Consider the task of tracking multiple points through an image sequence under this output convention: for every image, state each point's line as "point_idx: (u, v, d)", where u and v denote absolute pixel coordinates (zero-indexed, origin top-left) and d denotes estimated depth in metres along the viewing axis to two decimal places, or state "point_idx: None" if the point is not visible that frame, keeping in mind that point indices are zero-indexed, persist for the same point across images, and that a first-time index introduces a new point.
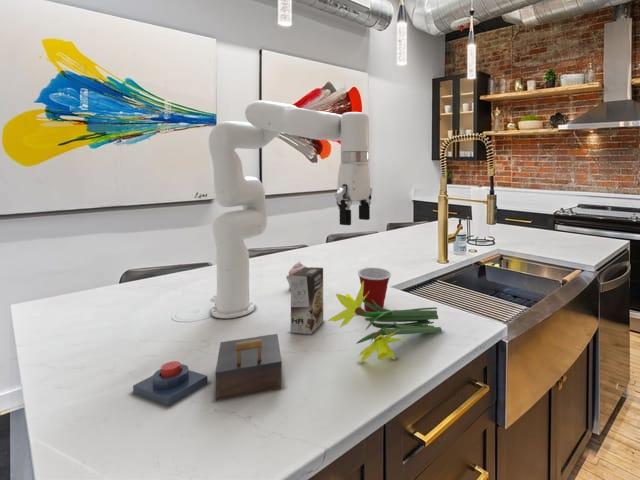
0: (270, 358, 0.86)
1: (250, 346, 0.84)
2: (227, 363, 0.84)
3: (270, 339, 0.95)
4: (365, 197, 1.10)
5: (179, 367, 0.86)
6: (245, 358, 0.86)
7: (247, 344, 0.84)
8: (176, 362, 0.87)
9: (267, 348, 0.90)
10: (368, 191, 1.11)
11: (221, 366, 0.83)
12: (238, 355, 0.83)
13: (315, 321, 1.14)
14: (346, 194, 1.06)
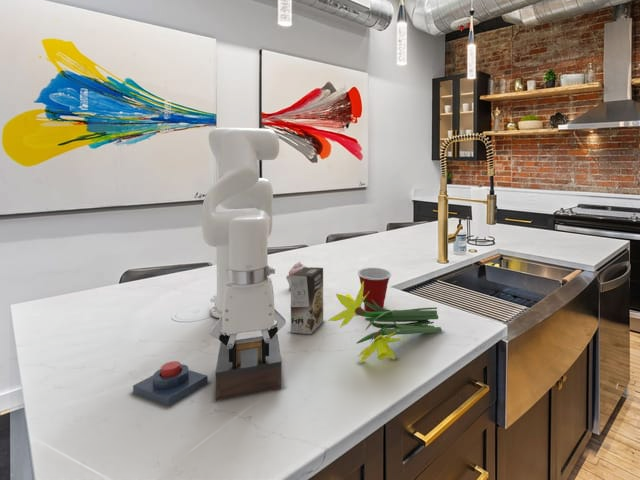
0: (270, 358, 0.86)
1: (250, 346, 0.84)
2: (227, 363, 0.84)
3: None
4: (259, 328, 0.83)
5: (179, 367, 0.86)
6: (245, 358, 0.86)
7: (247, 344, 0.84)
8: (176, 362, 0.87)
9: None
10: (266, 320, 0.83)
11: (221, 366, 0.83)
12: (238, 355, 0.83)
13: (315, 321, 1.14)
14: None
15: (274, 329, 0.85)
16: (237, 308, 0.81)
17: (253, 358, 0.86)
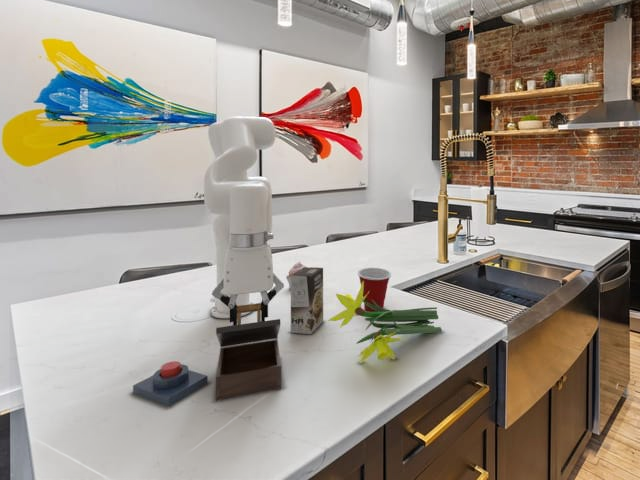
0: None
1: (250, 307, 0.88)
2: None
3: None
4: (259, 289, 0.88)
5: (179, 367, 0.86)
6: None
7: (247, 305, 0.88)
8: (176, 362, 0.87)
9: None
10: (265, 282, 0.88)
11: None
12: (238, 317, 0.87)
13: (315, 321, 1.14)
14: None
15: (273, 292, 0.90)
16: (237, 270, 0.86)
17: None
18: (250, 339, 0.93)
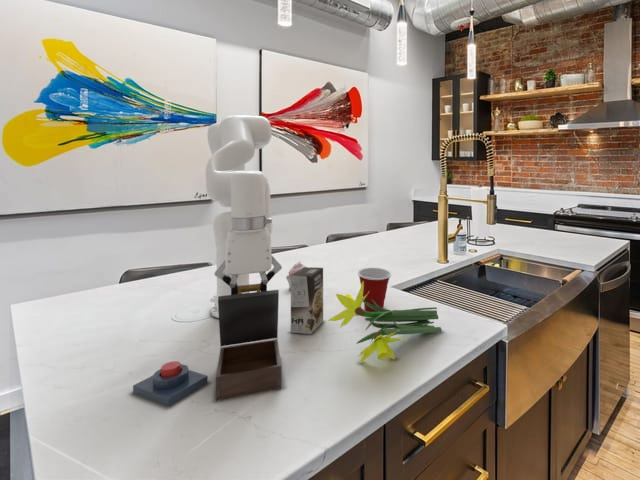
0: None
1: (250, 285, 0.94)
2: None
3: None
4: (258, 270, 0.94)
5: (179, 367, 0.86)
6: None
7: (247, 285, 0.94)
8: (176, 362, 0.87)
9: None
10: (264, 263, 0.94)
11: None
12: (239, 293, 0.92)
13: (315, 321, 1.14)
14: None
15: (271, 272, 0.96)
16: (238, 251, 0.92)
17: None
18: (250, 330, 0.94)
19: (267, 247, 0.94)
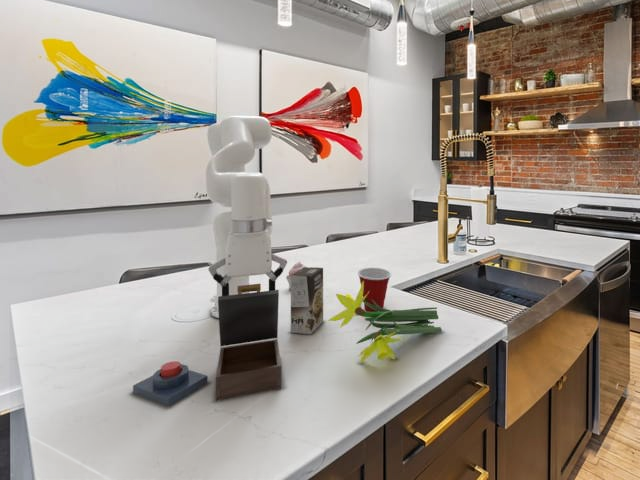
0: None
1: (250, 285, 0.94)
2: None
3: None
4: (258, 272, 0.94)
5: (179, 367, 0.86)
6: None
7: (247, 285, 0.94)
8: (176, 362, 0.87)
9: None
10: (264, 266, 0.95)
11: None
12: (239, 293, 0.92)
13: (315, 321, 1.14)
14: None
15: (280, 269, 0.97)
16: (238, 254, 0.92)
17: None
18: (250, 330, 0.94)
19: (267, 249, 0.95)
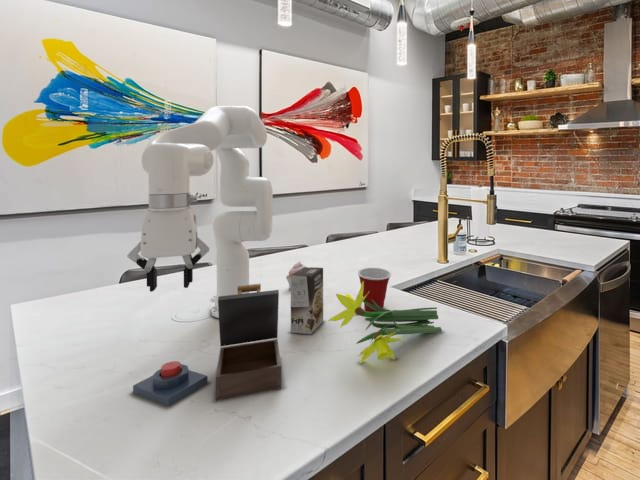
0: None
1: (250, 285, 0.94)
2: None
3: None
4: (179, 253, 0.84)
5: (179, 367, 0.86)
6: None
7: (247, 285, 0.94)
8: (176, 362, 0.87)
9: None
10: (186, 246, 0.84)
11: None
12: (239, 293, 0.92)
13: (315, 321, 1.14)
14: None
15: (197, 256, 0.86)
16: (155, 232, 0.82)
17: None
18: (250, 330, 0.94)
19: (190, 228, 0.85)
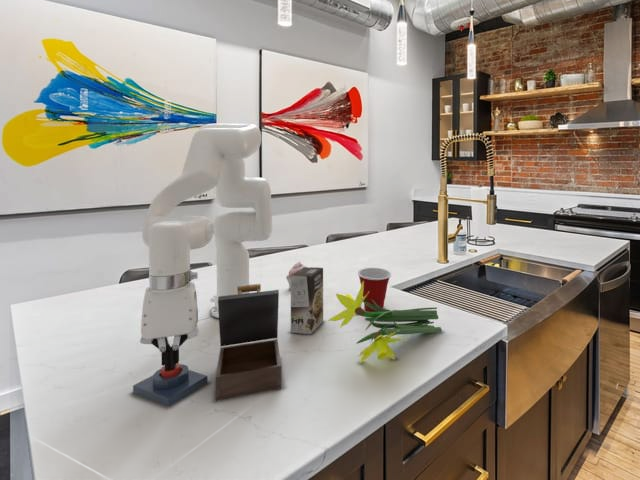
0: None
1: (250, 285, 0.94)
2: None
3: None
4: (179, 332, 0.84)
5: (179, 369, 0.86)
6: None
7: (247, 285, 0.94)
8: (176, 364, 0.87)
9: None
10: (187, 325, 0.84)
11: None
12: (239, 293, 0.92)
13: (315, 321, 1.14)
14: None
15: (183, 336, 0.85)
16: (156, 313, 0.82)
17: None
18: (250, 330, 0.94)
19: (190, 307, 0.85)
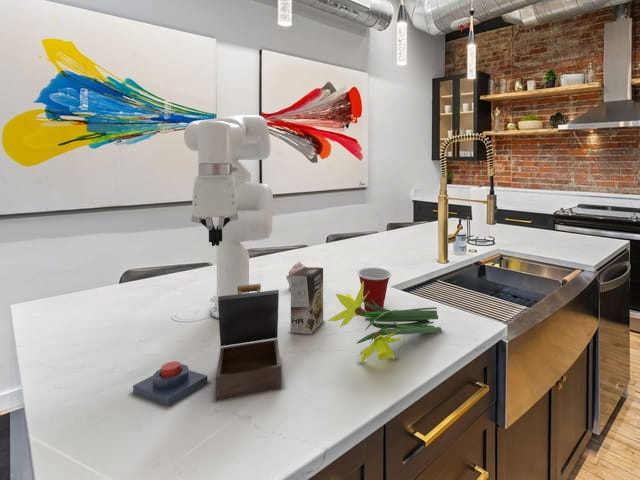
0: None
1: (250, 285, 0.94)
2: None
3: None
4: (224, 214, 0.99)
5: (179, 367, 0.86)
6: None
7: (247, 285, 0.94)
8: (176, 362, 0.87)
9: None
10: (229, 208, 1.00)
11: None
12: (239, 293, 0.92)
13: (315, 321, 1.14)
14: None
15: (226, 218, 1.01)
16: (204, 195, 0.97)
17: None
18: (250, 330, 0.94)
19: (232, 193, 1.00)
